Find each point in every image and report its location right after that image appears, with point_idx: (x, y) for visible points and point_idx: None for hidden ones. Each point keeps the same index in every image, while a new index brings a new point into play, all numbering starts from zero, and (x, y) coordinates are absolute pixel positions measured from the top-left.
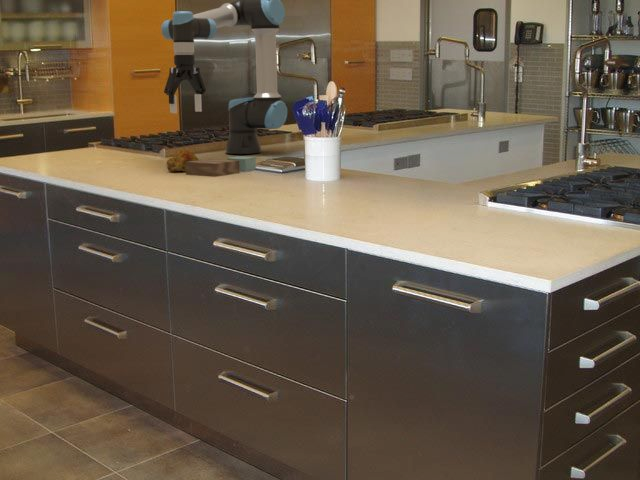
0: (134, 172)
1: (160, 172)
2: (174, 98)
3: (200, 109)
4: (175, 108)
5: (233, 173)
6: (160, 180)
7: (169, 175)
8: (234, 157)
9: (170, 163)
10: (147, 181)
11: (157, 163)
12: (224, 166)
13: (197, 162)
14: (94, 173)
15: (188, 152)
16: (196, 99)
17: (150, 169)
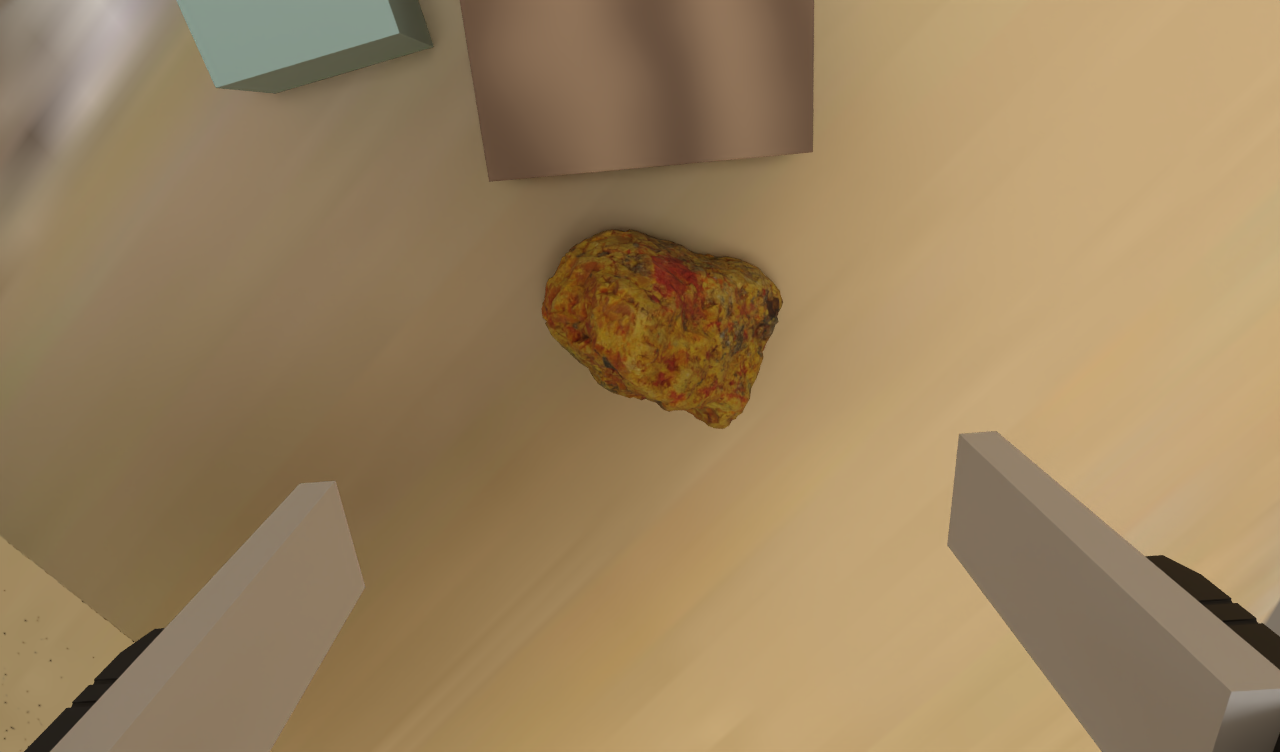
0: (866, 516)
1: (786, 390)
2: (1208, 628)
3: (314, 501)
4: (1041, 473)
5: None
6: (1173, 12)
7: (892, 205)
8: (299, 29)
9: (761, 356)
10: (1257, 51)
11: (454, 737)
12: None
13: (799, 12)
14: (1006, 644)
15: (653, 296)
16: (236, 736)
17: (696, 556)
